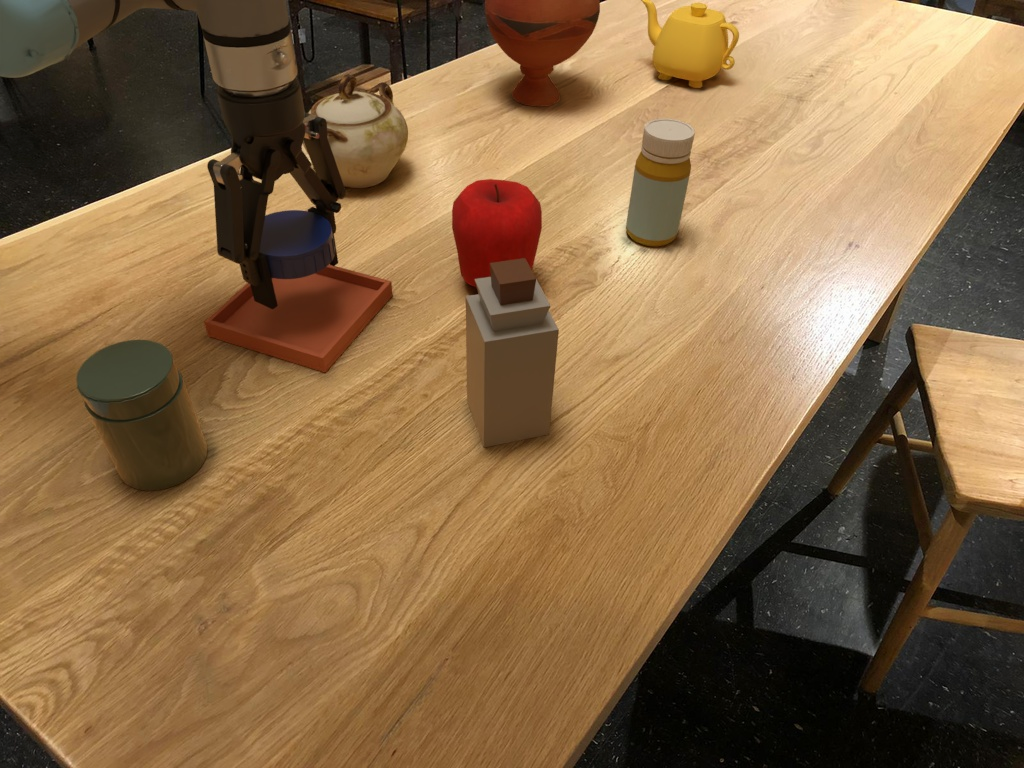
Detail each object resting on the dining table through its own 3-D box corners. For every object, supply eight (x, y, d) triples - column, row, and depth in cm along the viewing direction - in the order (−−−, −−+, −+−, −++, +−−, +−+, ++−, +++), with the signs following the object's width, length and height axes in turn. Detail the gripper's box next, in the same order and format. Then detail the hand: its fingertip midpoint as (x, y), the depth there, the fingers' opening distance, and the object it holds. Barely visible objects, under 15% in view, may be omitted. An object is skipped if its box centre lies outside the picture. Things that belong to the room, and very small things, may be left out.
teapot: (716, 98, 138) (732, 24, 129) (616, 73, 145) (625, 1, 137) (741, 74, 147) (758, 3, 138) (646, 52, 154) (656, -17, 145)
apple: (472, 316, 90) (472, 215, 80) (441, 270, 96) (437, 171, 87) (552, 295, 93) (560, 196, 84) (516, 252, 100) (520, 155, 91)
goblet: (565, 129, 127) (579, -37, 110) (463, 105, 133) (461, -56, 116) (605, 89, 140) (623, -65, 123) (510, 68, 145) (515, -82, 128)
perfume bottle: (549, 434, 76) (562, 287, 64) (483, 447, 75) (485, 299, 62) (528, 389, 81) (538, 244, 69) (467, 400, 79) (465, 254, 67)
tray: (207, 336, 86) (203, 321, 84) (285, 265, 96) (282, 251, 95) (325, 372, 82) (322, 358, 80) (392, 295, 92) (391, 281, 91)
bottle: (662, 217, 107) (681, 114, 97) (685, 244, 102) (708, 138, 92) (617, 225, 106) (631, 120, 95) (638, 252, 101) (656, 145, 90)
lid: (351, 260, 83) (347, 237, 81) (272, 290, 79) (266, 266, 77) (311, 223, 88) (307, 201, 86) (235, 249, 84) (229, 226, 82)
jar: (99, 475, 71) (51, 384, 63) (158, 418, 76) (121, 328, 68) (169, 501, 69) (129, 412, 61) (224, 441, 74) (194, 352, 66)
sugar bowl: (365, 218, 105) (353, 112, 95) (277, 192, 109) (256, 88, 99) (436, 158, 118) (432, 60, 108) (355, 137, 122) (343, 40, 112)
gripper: (192, 134, 62) (250, 345, 77) (365, 54, 76) (385, 247, 91) (131, 112, 65) (198, 320, 80) (308, 38, 79) (337, 228, 94)
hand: (297, 281), depth 86 cm, fingers closed on lid, 9 cm apart
